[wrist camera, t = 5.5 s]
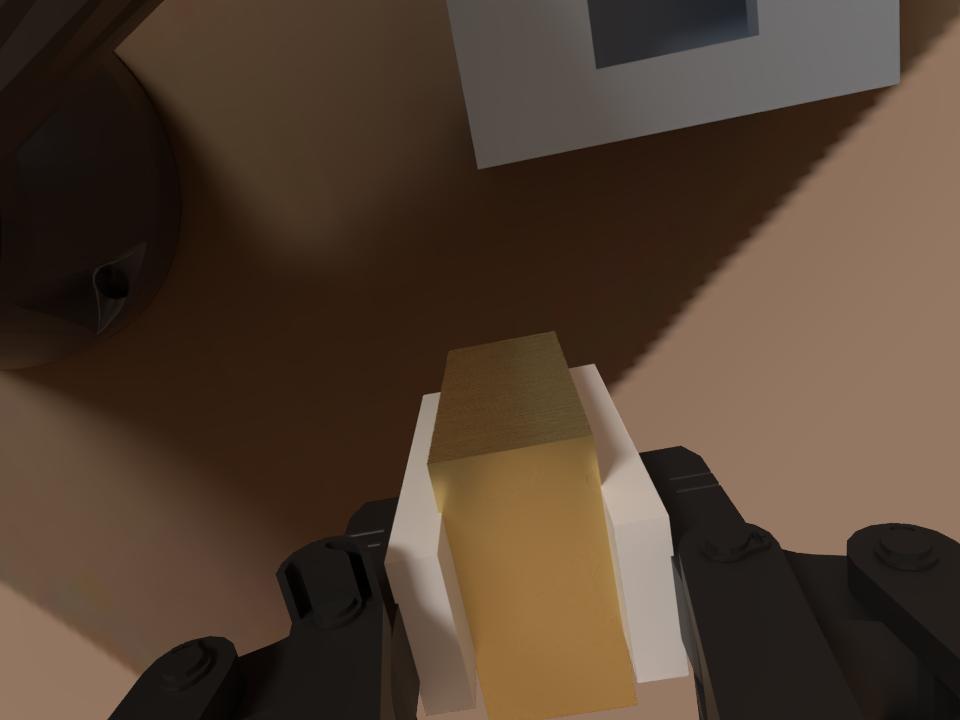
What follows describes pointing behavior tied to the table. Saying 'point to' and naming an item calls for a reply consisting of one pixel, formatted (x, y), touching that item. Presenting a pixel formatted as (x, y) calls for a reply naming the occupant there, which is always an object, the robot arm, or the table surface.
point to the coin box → (655, 65)
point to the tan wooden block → (529, 532)
